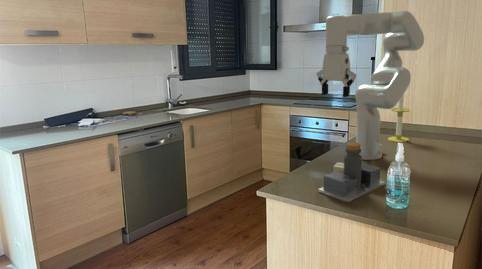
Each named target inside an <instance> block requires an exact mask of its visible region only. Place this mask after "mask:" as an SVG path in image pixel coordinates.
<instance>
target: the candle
mask: <svg viewBox="0 0 482 269" xmlns="http://www.w3.org/2000/svg"><path fill="white" fill-rule="evenodd" d="M404 97H405V93H404V94H403V96H402V97H401V99H400V100H399V102H398V107H397V108H396V107H393V108H391V111H392V112H395V113H397V115H396V116H397V118H396V129H395V130H396V131H395V136H390V137H387V140H388V141H390V142H395V143H407V142H406V141H408V142H409V141H410V139H409V138H408V137H404V136H402V133H403V132H402V130H403V116H404V113H408V112H410V111H411V110H410V108H409V109H408V108H404V100H405V99H404Z"/></svg>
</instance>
